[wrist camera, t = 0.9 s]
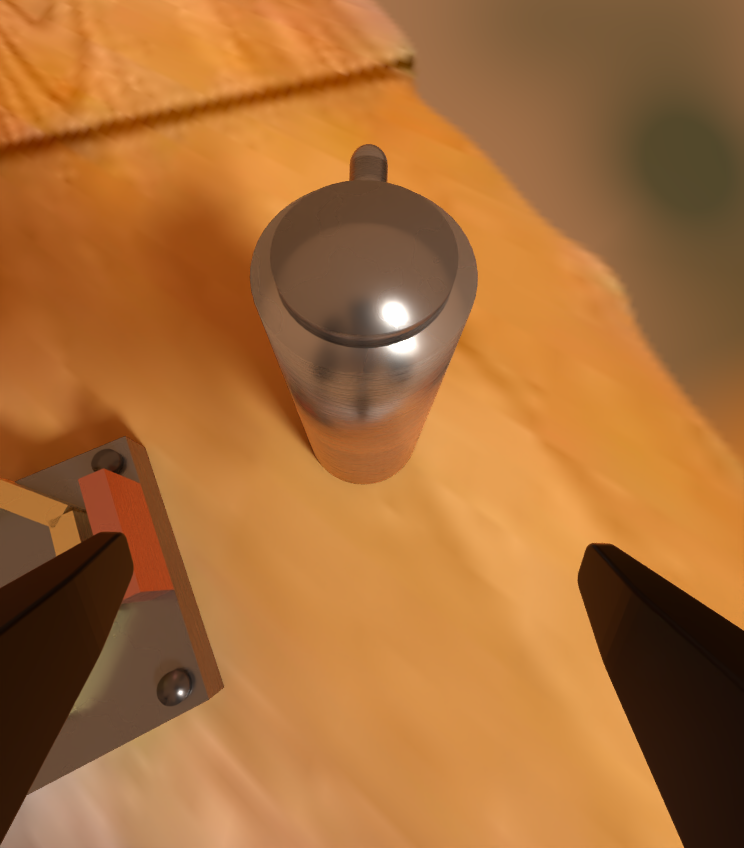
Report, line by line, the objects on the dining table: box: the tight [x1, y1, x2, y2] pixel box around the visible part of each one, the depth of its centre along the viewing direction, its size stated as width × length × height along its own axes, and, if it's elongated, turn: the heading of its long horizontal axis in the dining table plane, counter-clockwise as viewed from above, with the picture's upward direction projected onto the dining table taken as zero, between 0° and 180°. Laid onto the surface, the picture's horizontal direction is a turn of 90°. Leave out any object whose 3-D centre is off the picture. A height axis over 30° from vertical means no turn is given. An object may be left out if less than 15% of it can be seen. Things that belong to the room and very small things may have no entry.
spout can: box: [250, 144, 478, 484], centre depth 17 cm, size 8×6×14 cm, turn 178°
